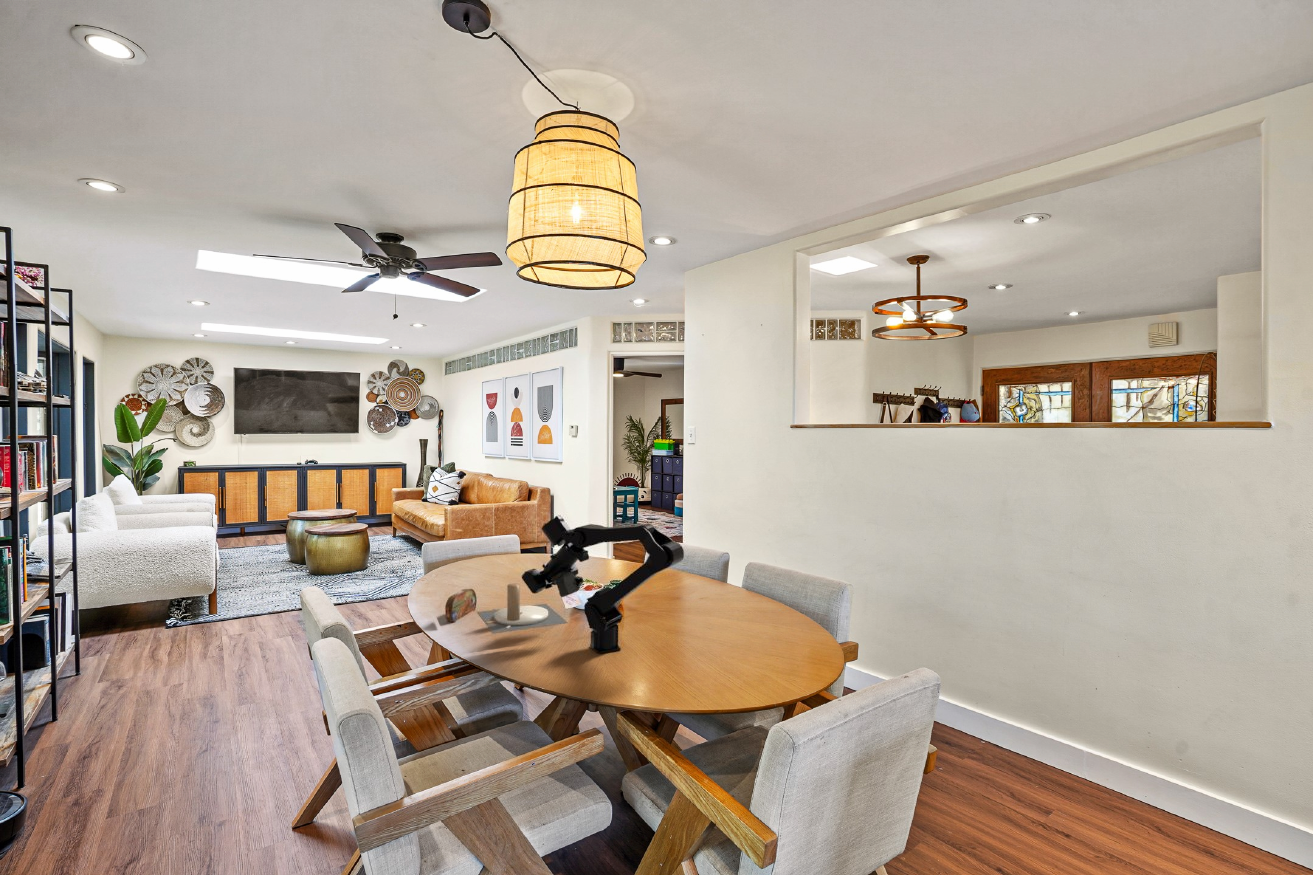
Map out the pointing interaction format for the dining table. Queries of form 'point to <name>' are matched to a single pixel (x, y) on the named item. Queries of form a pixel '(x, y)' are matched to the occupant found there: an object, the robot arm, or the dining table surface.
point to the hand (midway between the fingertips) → (535, 591)
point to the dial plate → (498, 627)
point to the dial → (519, 610)
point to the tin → (460, 604)
